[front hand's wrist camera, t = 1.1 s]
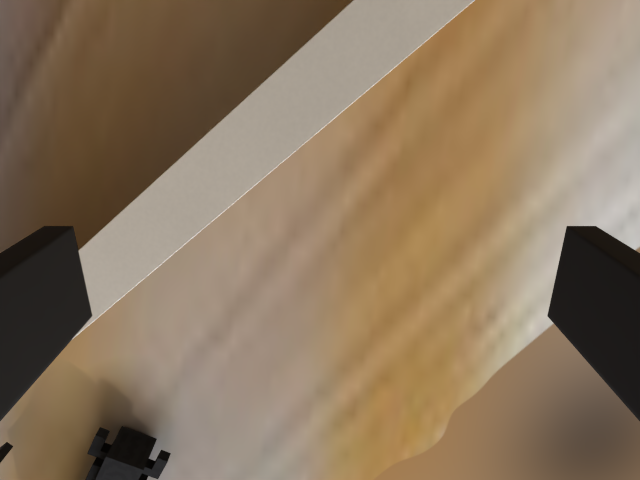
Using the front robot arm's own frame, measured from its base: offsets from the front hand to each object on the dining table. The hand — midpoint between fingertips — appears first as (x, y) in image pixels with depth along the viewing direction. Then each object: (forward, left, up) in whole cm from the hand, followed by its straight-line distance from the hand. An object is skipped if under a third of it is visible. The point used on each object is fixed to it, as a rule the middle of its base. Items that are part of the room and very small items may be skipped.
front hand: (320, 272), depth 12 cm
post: (0, -9, -36) cm, 37 cm away
